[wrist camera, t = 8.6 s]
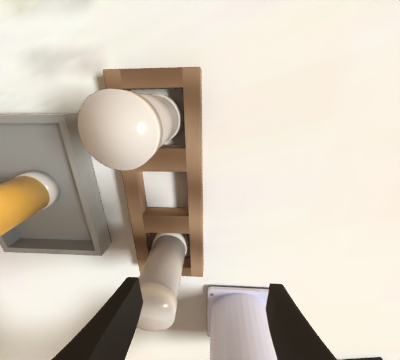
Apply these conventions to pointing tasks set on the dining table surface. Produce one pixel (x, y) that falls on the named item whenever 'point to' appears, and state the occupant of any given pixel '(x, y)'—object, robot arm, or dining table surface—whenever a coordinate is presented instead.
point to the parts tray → (66, 179)
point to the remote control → (367, 359)
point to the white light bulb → (127, 126)
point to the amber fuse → (25, 197)
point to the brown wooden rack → (167, 165)
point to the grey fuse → (162, 281)
